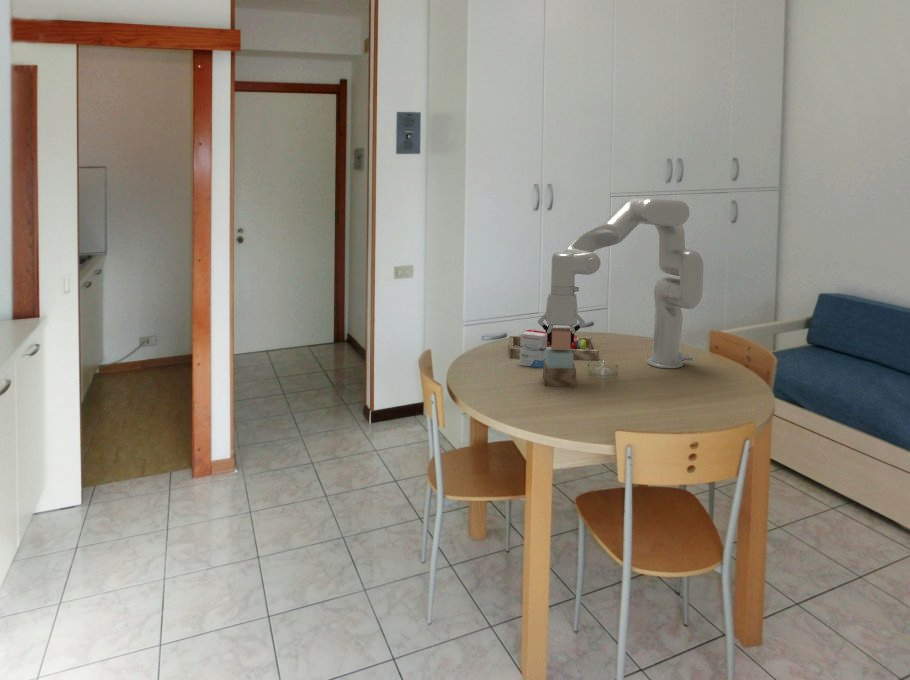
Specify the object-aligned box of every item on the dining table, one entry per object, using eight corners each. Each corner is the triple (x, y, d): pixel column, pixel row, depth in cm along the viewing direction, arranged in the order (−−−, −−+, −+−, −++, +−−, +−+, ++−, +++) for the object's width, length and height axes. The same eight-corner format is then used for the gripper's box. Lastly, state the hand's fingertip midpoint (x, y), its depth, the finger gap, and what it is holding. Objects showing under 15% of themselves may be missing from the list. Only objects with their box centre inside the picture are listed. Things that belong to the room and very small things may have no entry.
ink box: (546, 364, 257) (547, 333, 254) (541, 368, 253) (543, 336, 250) (523, 361, 261) (524, 330, 258) (519, 365, 256) (520, 333, 254)
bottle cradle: (592, 346, 282) (592, 337, 281) (598, 360, 263) (598, 350, 262) (509, 344, 284) (509, 335, 283) (509, 358, 265) (509, 348, 264)
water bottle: (529, 327, 285) (590, 333, 276) (527, 347, 286) (588, 354, 276) (519, 328, 274) (583, 335, 265) (518, 349, 275) (581, 357, 265)
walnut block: (572, 378, 242) (573, 361, 241) (575, 387, 233) (576, 369, 231) (543, 377, 243) (543, 360, 242) (544, 386, 234) (545, 368, 232)
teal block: (569, 361, 240) (569, 347, 239) (572, 368, 233) (573, 353, 231) (545, 361, 240) (545, 347, 239) (548, 368, 233) (548, 353, 231)
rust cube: (568, 345, 238) (569, 327, 236) (570, 349, 232) (570, 331, 230) (550, 344, 238) (551, 327, 237) (551, 349, 232) (552, 331, 231)
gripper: (588, 288, 233) (585, 342, 238) (535, 288, 234) (533, 341, 239) (590, 293, 226) (588, 347, 231) (536, 292, 227) (534, 346, 232)
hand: (560, 343), depth 235 cm, fingers closed on rust cube, 6 cm apart
